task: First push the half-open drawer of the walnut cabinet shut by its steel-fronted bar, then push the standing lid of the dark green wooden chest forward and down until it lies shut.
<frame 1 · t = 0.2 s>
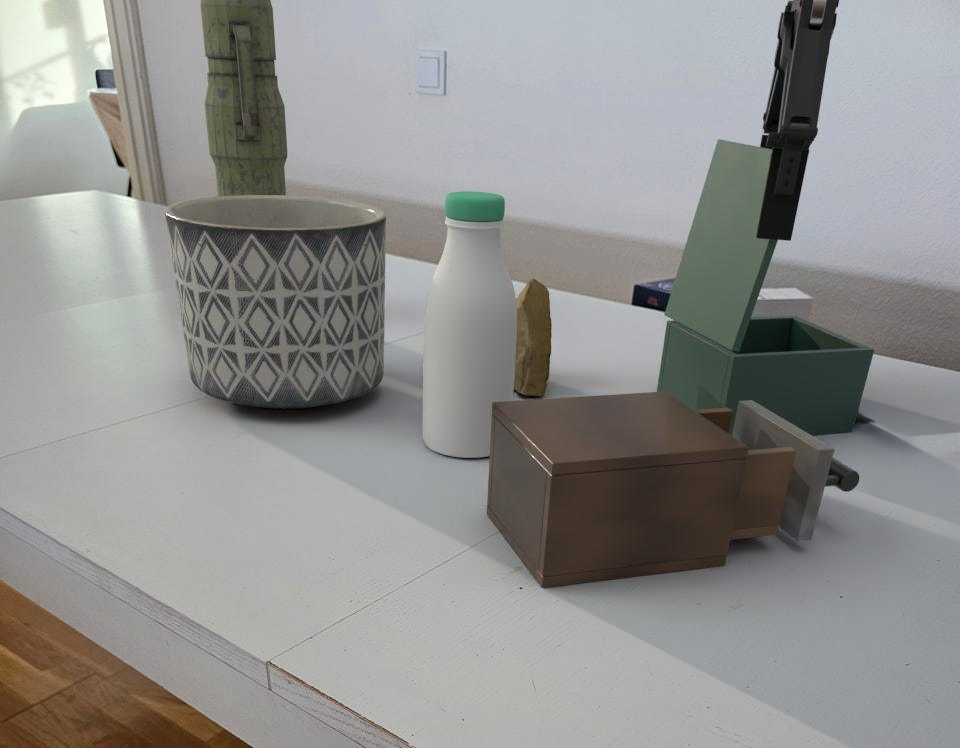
hand: (767, 226, 81), 17 cm above the table, tool pointing down, fingers open, 13 cm apart
drawer: (732, 471, 67), point 4 cm above the table, slide at 6.0 cm
thermos: (261, 314, 118), on the table
lid: (728, 244, 82), point 16 cm above the table, hinge at 79.5°
chest: (750, 415, 92), on the table
cabinet: (600, 538, 67), on the table
planter: (290, 394, 92), on the table
milk bottle: (466, 446, 82), on the table
rock: (512, 384, 97), on the table
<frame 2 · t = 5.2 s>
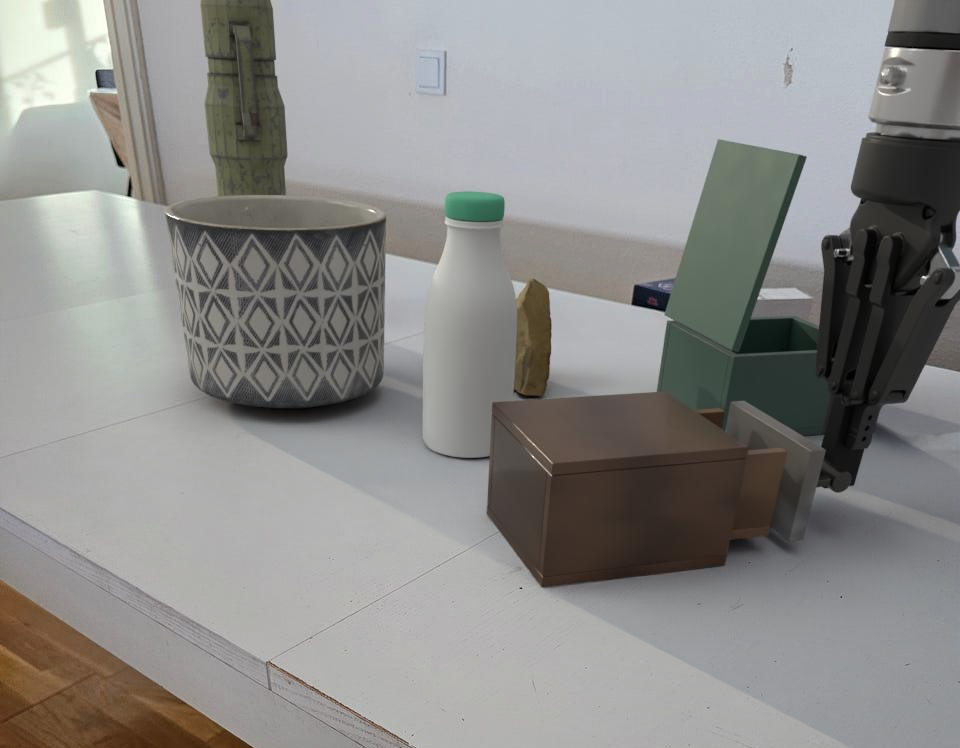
hand: (833, 482, 71), 3 cm above the table, tool pointing down, fingers closed
drawer: (723, 472, 67), point 4 cm above the table, slide at 5.3 cm, touching gripper
everything else where it was.
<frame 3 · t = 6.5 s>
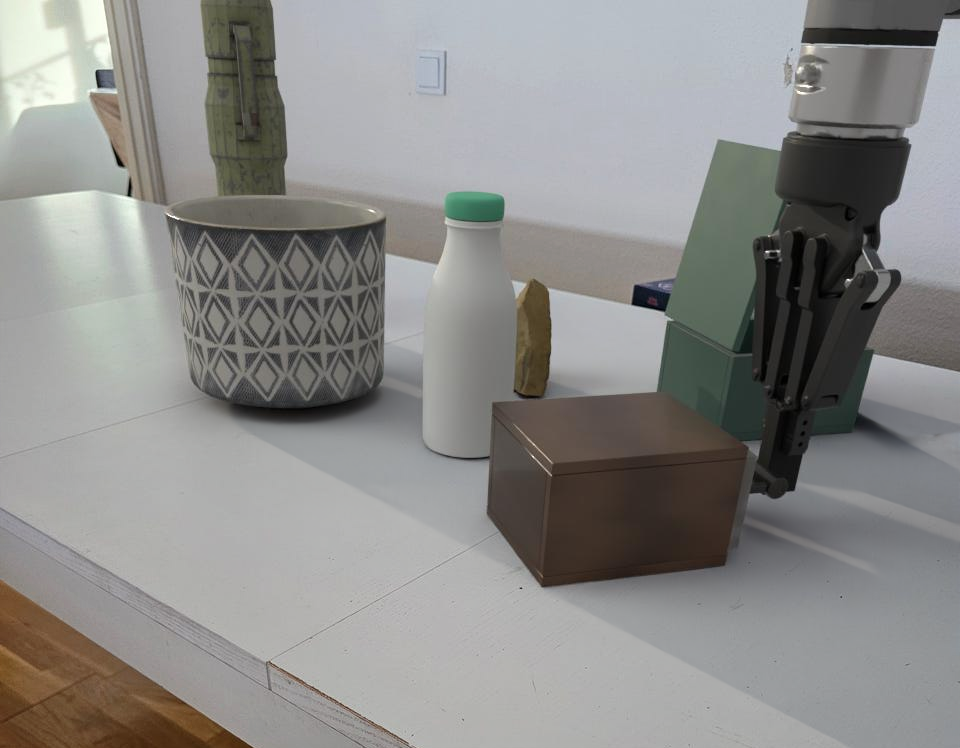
hand: (773, 488, 70), 3 cm above the table, tool pointing down, fingers closed
drawer: (658, 478, 66), point 4 cm above the table, slide at 0.0 cm, touching cabinet, gripper
everything else where it was.
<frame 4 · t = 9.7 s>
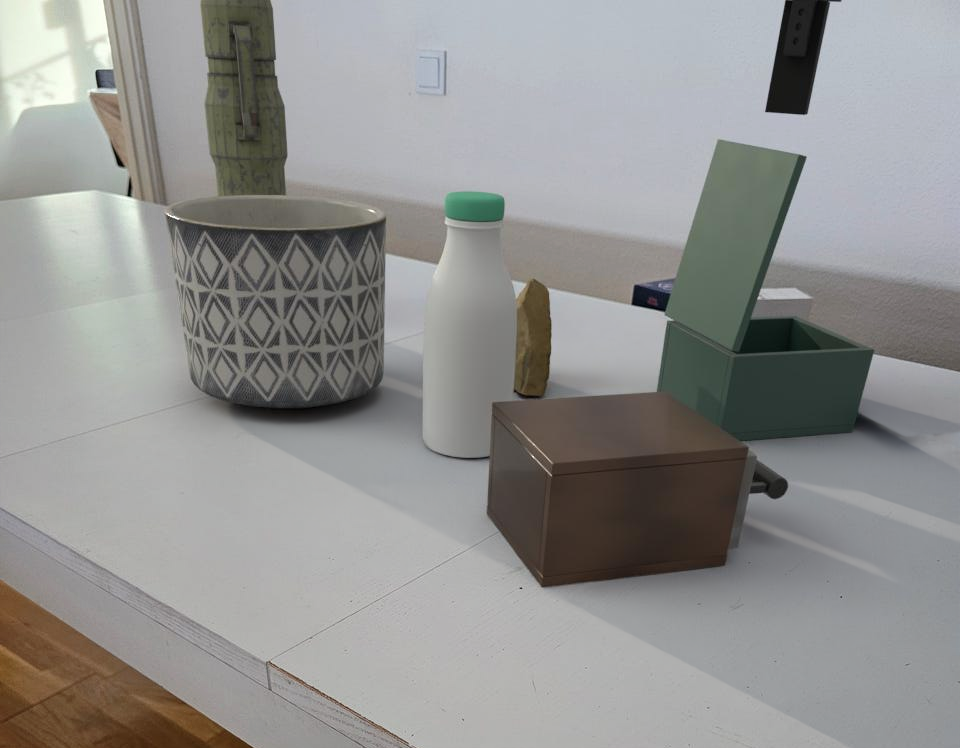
hand: (786, 112, 65), 27 cm above the table, tool pointing down, fingers closed
drawer: (658, 478, 66), point 4 cm above the table, slide at 0.0 cm
everything else where it was.
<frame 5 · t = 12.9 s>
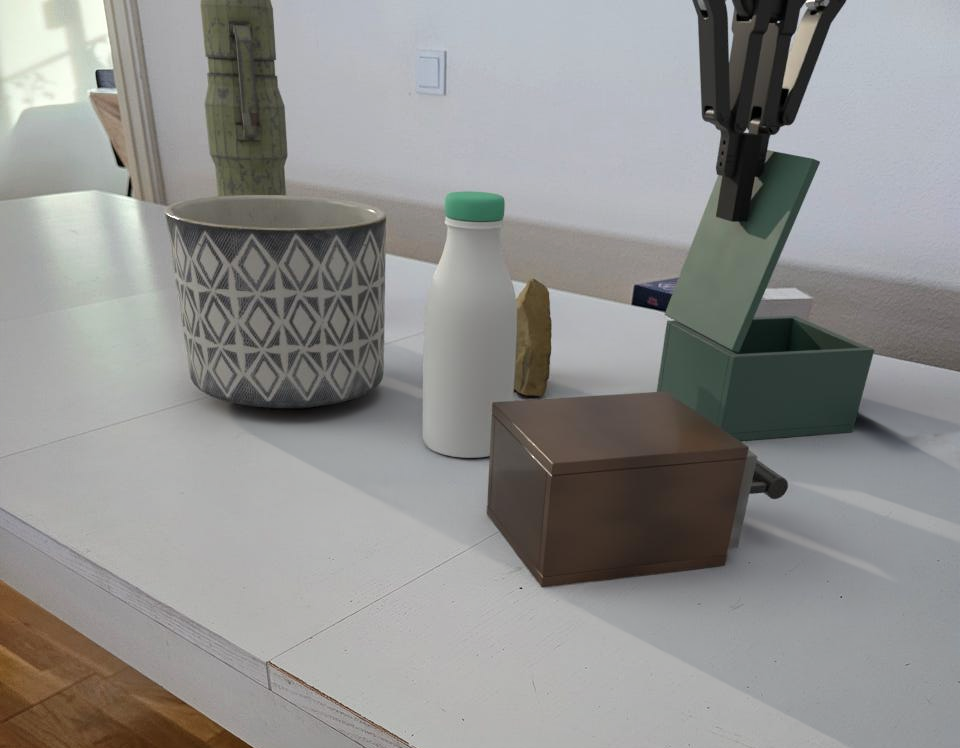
hand: (731, 218, 80), 18 cm above the table, tool pointing down, fingers closed
lid: (734, 245, 82), point 16 cm above the table, hinge at 74.3°, touching gripper
everything else where it was.
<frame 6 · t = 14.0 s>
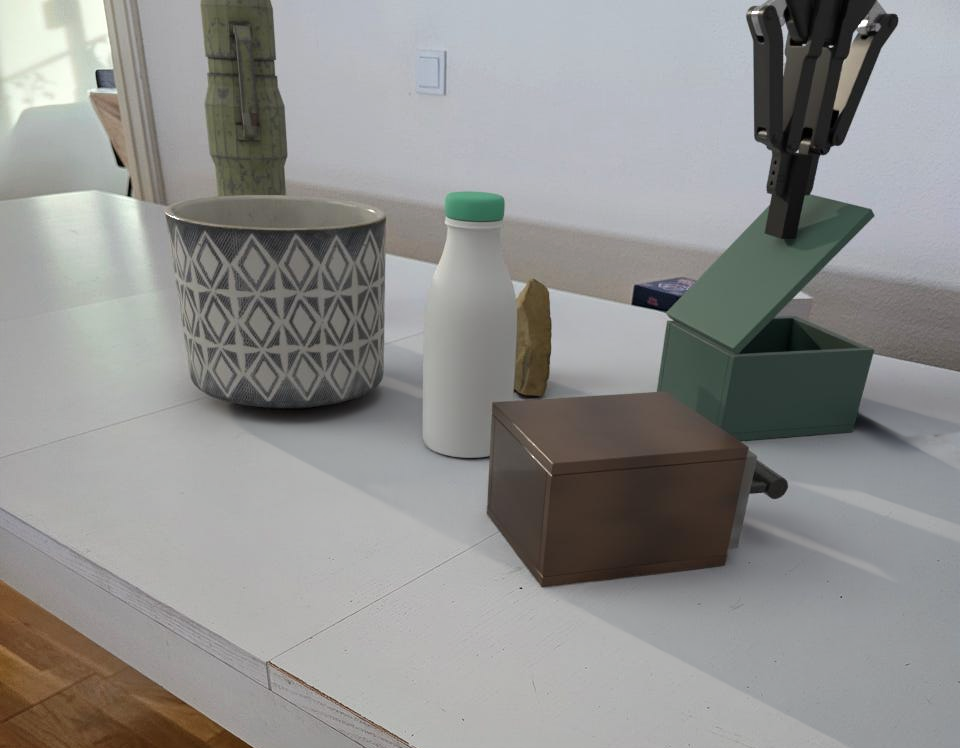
hand: (780, 235, 83), 16 cm above the table, tool pointing down, fingers closed
lid: (762, 268, 84), point 14 cm above the table, hinge at 45.7°, touching gripper
everything else where it was.
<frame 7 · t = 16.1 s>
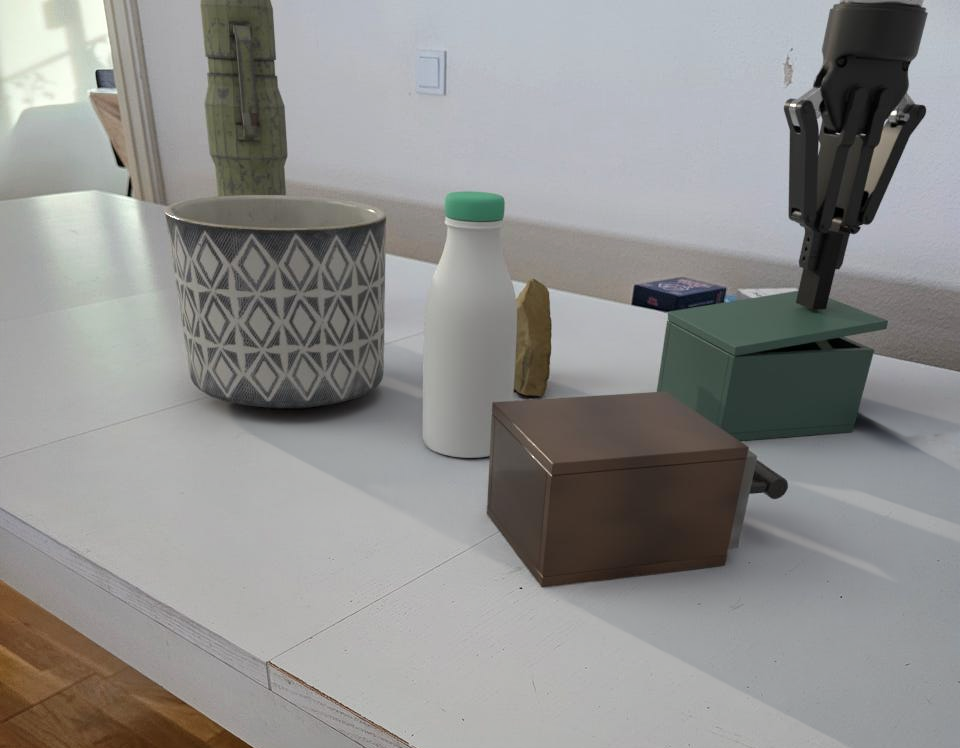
hand: (810, 305, 87), 10 cm above the table, tool pointing down, fingers closed
lid: (773, 320, 87), point 9 cm above the table, hinge at 6.4°, touching gripper
everything else where it was.
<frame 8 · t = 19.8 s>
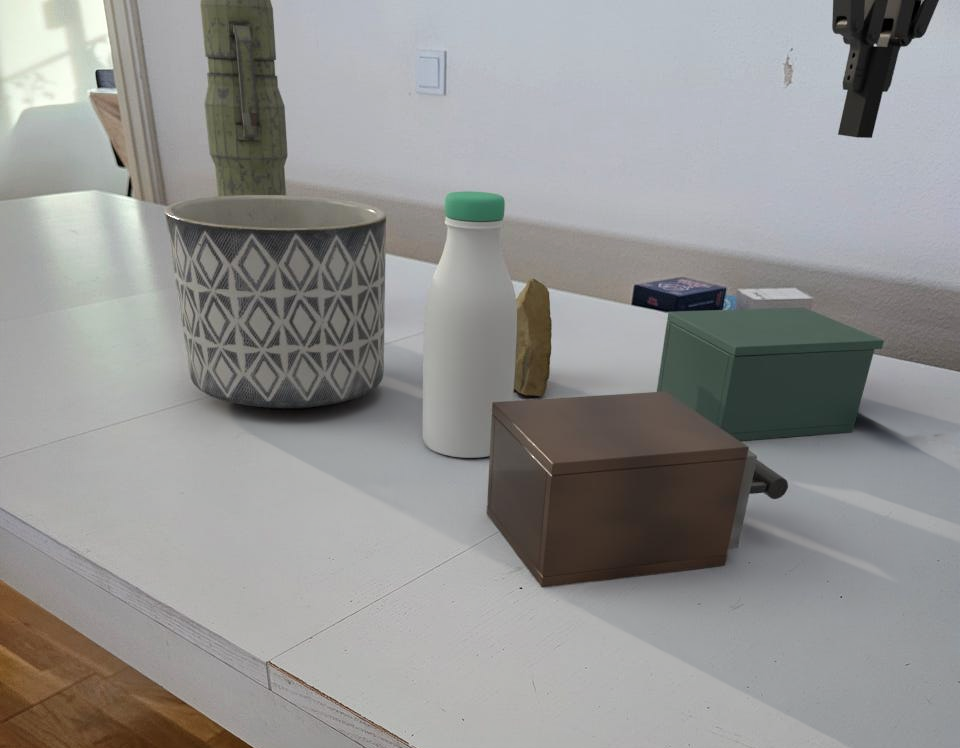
hand: (854, 135, 80), 24 cm above the table, tool pointing down, fingers closed
lid: (771, 329, 87), point 8 cm above the table, hinge at -0.2°
everything else where it was.
at the end: drawer slide at 0.0 cm; lid at +0° (first picture: +80°) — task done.
